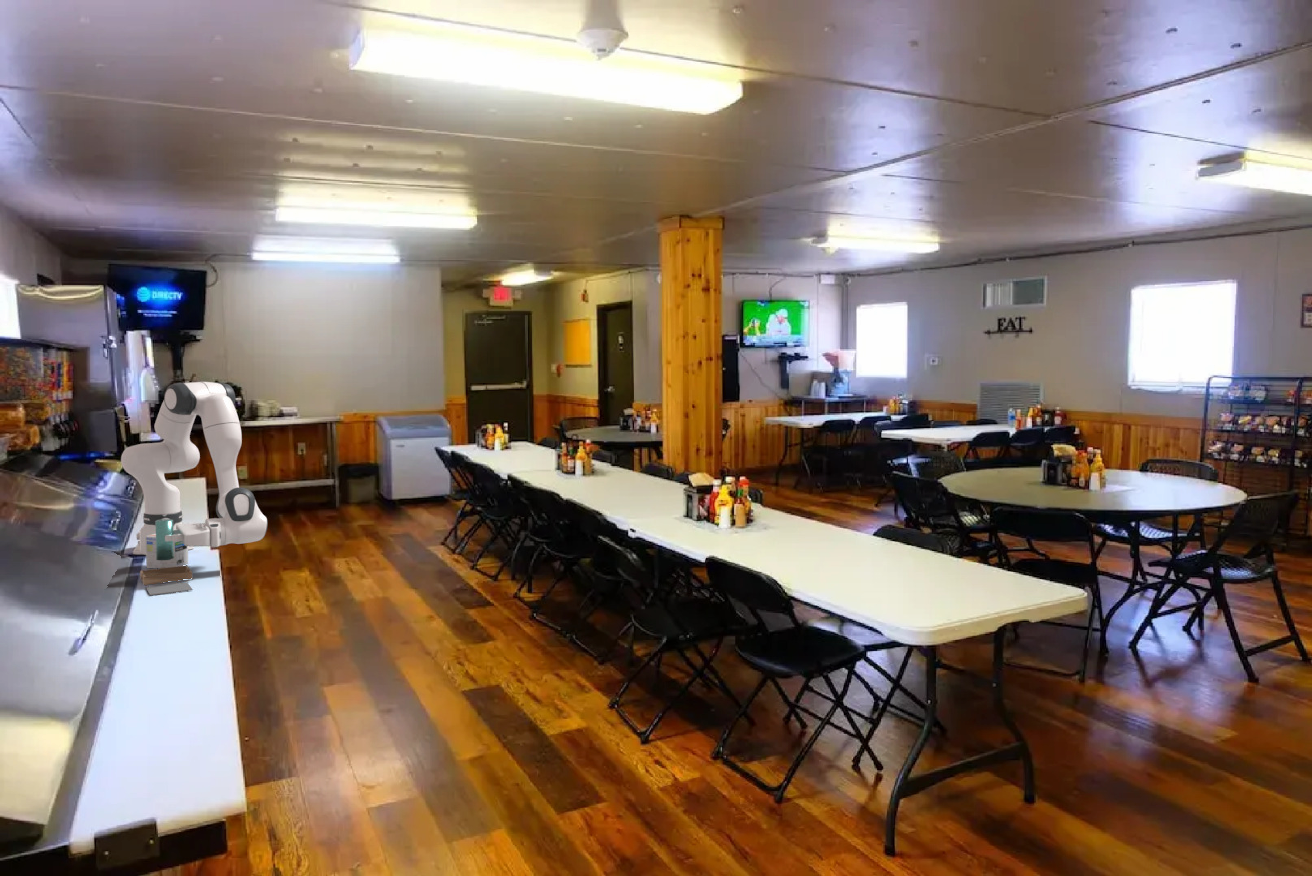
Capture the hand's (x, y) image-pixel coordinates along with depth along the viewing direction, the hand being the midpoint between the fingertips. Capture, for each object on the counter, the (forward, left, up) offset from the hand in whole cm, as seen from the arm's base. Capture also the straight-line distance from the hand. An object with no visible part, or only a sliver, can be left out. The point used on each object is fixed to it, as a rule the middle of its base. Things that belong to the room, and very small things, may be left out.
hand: (163, 536), depth 267 cm
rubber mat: (+14, -1, -14) cm, 20 cm away
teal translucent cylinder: (0, 0, -7) cm, 7 cm away
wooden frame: (0, 0, -14) cm, 14 cm away
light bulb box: (-18, +3, -14) cm, 23 cm away
